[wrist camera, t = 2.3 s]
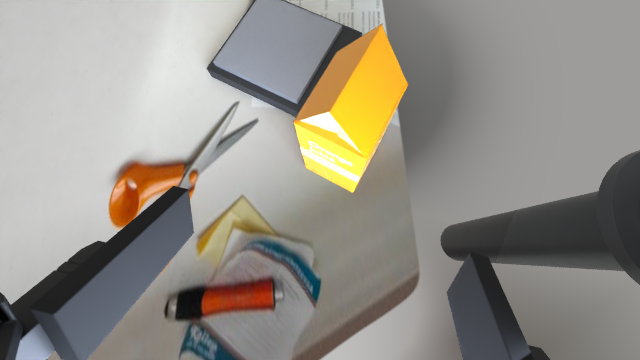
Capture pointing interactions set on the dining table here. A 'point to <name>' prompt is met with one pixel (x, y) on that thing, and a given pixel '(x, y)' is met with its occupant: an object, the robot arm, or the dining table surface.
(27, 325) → the robot arm
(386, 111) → the orange juice
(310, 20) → the scale
